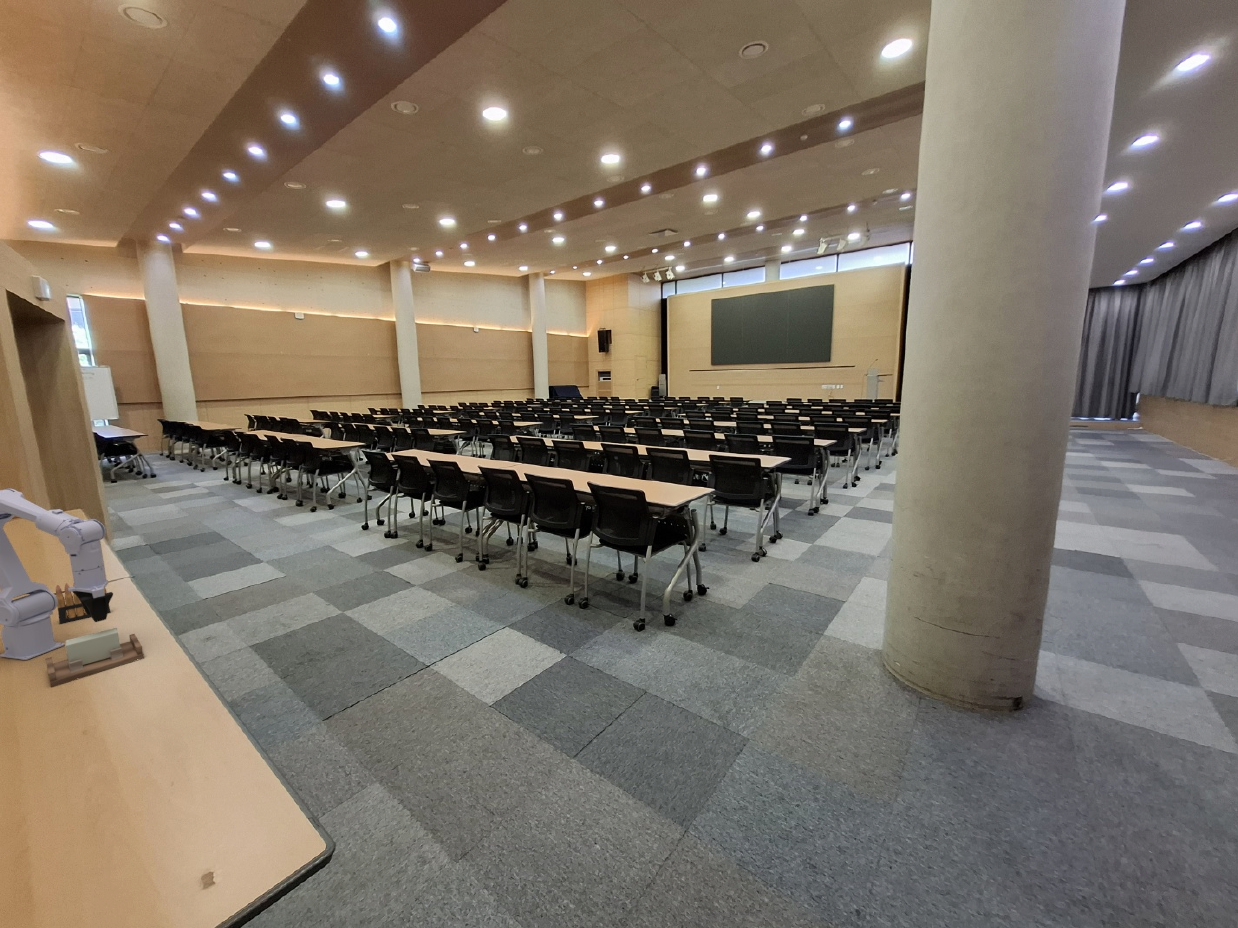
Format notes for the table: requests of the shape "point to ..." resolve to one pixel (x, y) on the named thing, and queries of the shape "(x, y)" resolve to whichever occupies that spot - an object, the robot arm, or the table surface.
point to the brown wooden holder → (93, 663)
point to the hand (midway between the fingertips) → (96, 616)
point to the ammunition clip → (70, 606)
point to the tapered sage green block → (92, 646)
